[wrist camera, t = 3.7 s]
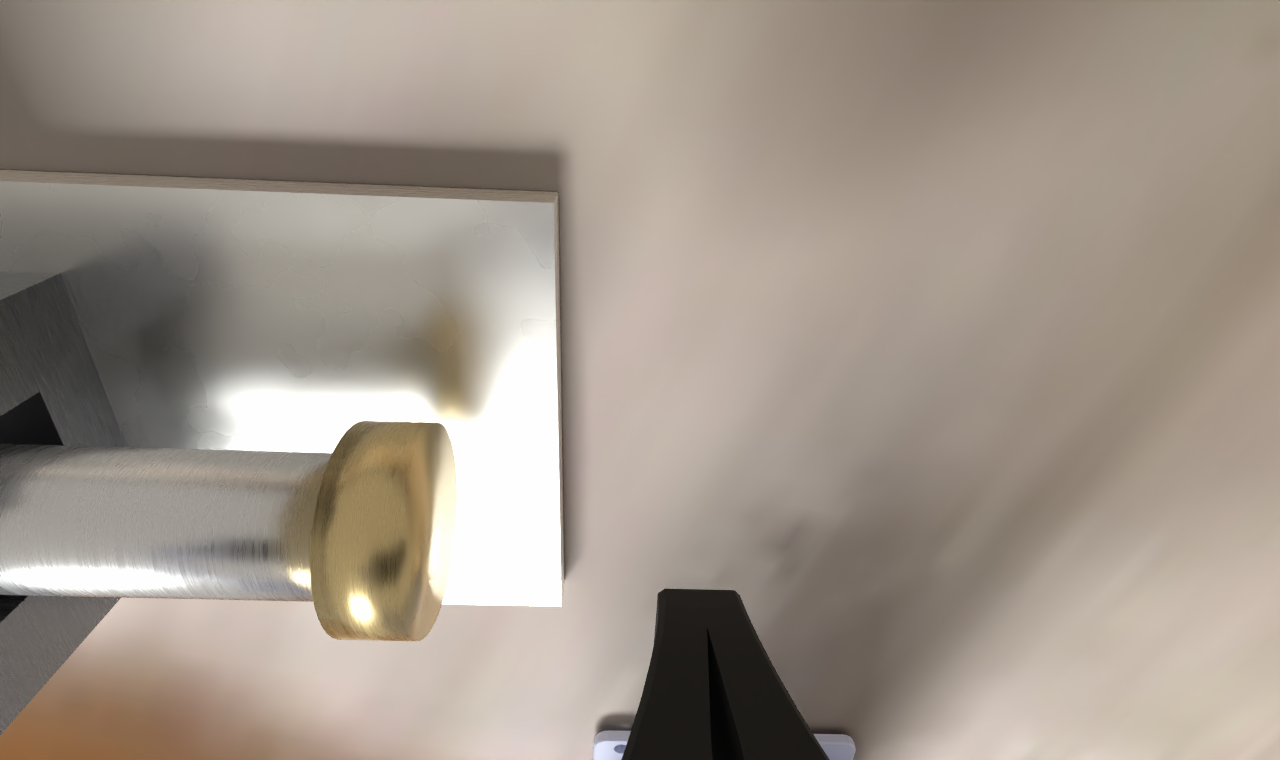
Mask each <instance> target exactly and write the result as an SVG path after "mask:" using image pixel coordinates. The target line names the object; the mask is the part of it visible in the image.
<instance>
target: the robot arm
mask: <svg viewBox="0 0 1280 760" xmlns="http://www.w3.org/2000/svg"><path fill="white" fill-rule="evenodd" d="M855 751H856V748H855V744H854V741H853V739H852V738H851V737H850V736H848V735H844V734H813V733H812V732H811V730H810V728H809V727H808V725H807V724H806V722H805V720H804V719H803V717H802V715H801V714H800V712H799V710H798V709H797V707H796V705H795V704H794V702H793V700H792V698H791V697H790V695H789V693H788V691H787V690H786V688H785V686H784V685H783V683H782V681H781V679H780V678H779V676H778V674H777V672H776V670H775V668H774V667H773V665H772V663H771V661H770V659H769V657H768V655H767V653H766V651H765V649H764V647H763V645H762V644H761V642H760V640H759V638H758V636H757V633H756V631H755V629H754V627H753V625H752V623H751V621H750V619H749V616H748V614H747V612H746V609H745V607H744V605H743V602H742V600H741V597H740V595H739V594H738V593H737V592H736V591H735V590H695V589H664V590H662V591H661V592H659V593H658V600H657V613H656V626H655V639H654V647H653V652H652V658H651V662H650V666H649V670H648V674H647V678H646V682H645V686H644V690H643V694H642V697H641V701H640V704H639V708H638V711H637V714H636V717H635V720H634V723H633V726H632V729H631V731H612V730H607V731H602V732H599V733H598V734H597V735H595V737H594V745H593V760H853V758H854V755H855Z"/></svg>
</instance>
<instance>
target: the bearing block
mask: <svg viewBox="0 0 1280 760" xmlns="http://www.w3.org/2000/svg"><path fill="white" fill-rule="evenodd" d="M360 421H393V422H427V423H440V424H442V425H443V426H444V427H445V428H446V430H447V432H448V434H449V436H450V439H451V442H452V446H453V451H454V456H455V463H456V473H457V522H456V535H455V543H454V551H453V558H452V564H451V570H450V575H449V579H448V584H447V588H446V592H445V596H444V599H443V602H442V604H469V605H516V606H562V597H563V589H564V529H563V466H562V403H561V340H560V277H559V214H558V192H542V191H518V190H493V189H468V188H443V187H418V186H393V185H368V184H343V183H318V182H293V181H268V180H243V179H218V178H193V177H168V176H143V175H118V174H93V173H68V172H43V171H19V170H0V444H27V445H62V446H98V447H134V448H170V449H205V450H241V451H277V452H312V453H333V451H334V449H335V447H336V445H337V444H338V442H339V440H340V439H341V437H342V436H343V435H344V433H345V432H346V431H347V430H348V429H349V428H350V427H351V426H352V425H354V424H356V423H357V422H360ZM120 598H121V597H79V596H32V595H0V735H1V734H2V733H3V732H4V730H5V729H6V728H7V727H8V726H9V725H10V724H11V722H12V721H13V720H14V719H15V718H16V717H17V716H18V714H19V713H20V712H21V711H22V710H23V709H24V708H25V706H26V705H27V704H28V703H29V702H30V701H31V700H32V698H33V697H34V696H35V695H36V694H37V693H38V692H39V691H40V689H41V688H42V687H43V686H44V685H45V684H46V683H47V681H48V680H49V679H50V678H51V677H52V676H53V675H54V673H55V672H56V671H57V670H58V669H59V668H60V667H61V665H62V664H63V663H64V662H65V661H66V660H67V659H68V657H69V656H70V655H71V654H72V653H73V652H74V651H75V649H76V648H77V647H78V646H79V645H80V644H81V643H82V642H83V640H84V639H85V638H86V637H87V636H88V635H89V634H90V632H91V631H92V630H93V629H94V628H95V627H96V626H97V624H98V623H99V622H100V621H101V620H102V619H103V618H104V616H105V615H106V614H107V613H108V612H109V611H110V610H111V608H112V607H113V606H114V605H115V604H116V603H117V602H118V600H119V599H120Z"/></svg>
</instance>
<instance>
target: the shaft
mask: <svg viewBox="0 0 1280 760" xmlns="http://www.w3.org/2000/svg"><path fill="white" fill-rule="evenodd" d="M456 522H457V473H456V463H455V456H454V451H453V446H452V442H451V439H450V436H449V434H448V432H447V430H446V428H445V427H444V426H443V425H442V424H440V423H427V422H393V421H360V422H357V423H356V424H354V425H352V426H351V427H350V428H349V429H348V430H347V431H346V432H345V433H344V435H343V436H342V437H341V439H340V440H339V442H338V444H337V445H336V447H335V449H334V451H333V453H312V452H277V451H241V450H205V449H170V448H134V447H98V446H62V445H27V444H0V595H32V596H79V597H126V598H173V599H219V600H266V601H313V602H314V606H315V610H316V613H317V616H318V619H319V621H320V623H321V625H322V627H323V629H324V630H325V631H326V633H327V634H328V635H330V636H331V637H332V638H335V639H338V640H384V641H420V640H422V639H424V638H425V637H426V636H427V635H428V633H429V632H430V630H431V629H432V627H433V625H434V623H435V621H436V619H437V616H438V614H439V611H440V608H441V605H442V602H443V599H444V596H445V592H446V588H447V584H448V579H449V575H450V570H451V564H452V558H453V551H454V543H455V535H456Z"/></svg>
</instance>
